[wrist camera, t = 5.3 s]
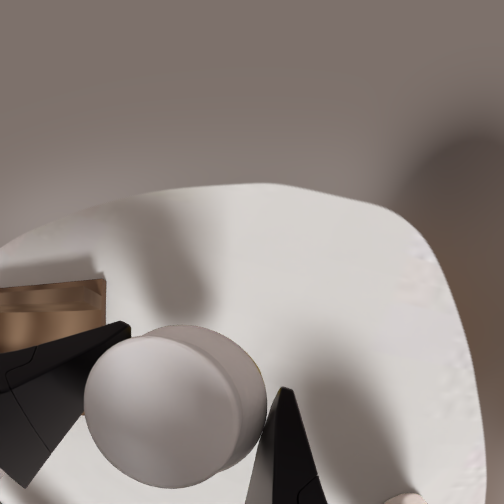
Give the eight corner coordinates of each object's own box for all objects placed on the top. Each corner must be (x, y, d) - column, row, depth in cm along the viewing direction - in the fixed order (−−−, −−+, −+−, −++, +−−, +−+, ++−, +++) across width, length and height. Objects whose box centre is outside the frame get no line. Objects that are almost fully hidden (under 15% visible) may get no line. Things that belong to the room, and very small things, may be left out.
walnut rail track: (-8, 393, 18) (-31, 391, 15) (-6, 291, 23) (-28, 280, 19) (112, 417, 19) (89, 423, 16) (106, 281, 24) (85, 267, 20)
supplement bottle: (171, 336, 16) (76, 290, 7) (266, 346, 16) (284, 313, 6) (163, 425, 14) (62, 475, 5) (259, 438, 13) (264, 525, 4)
